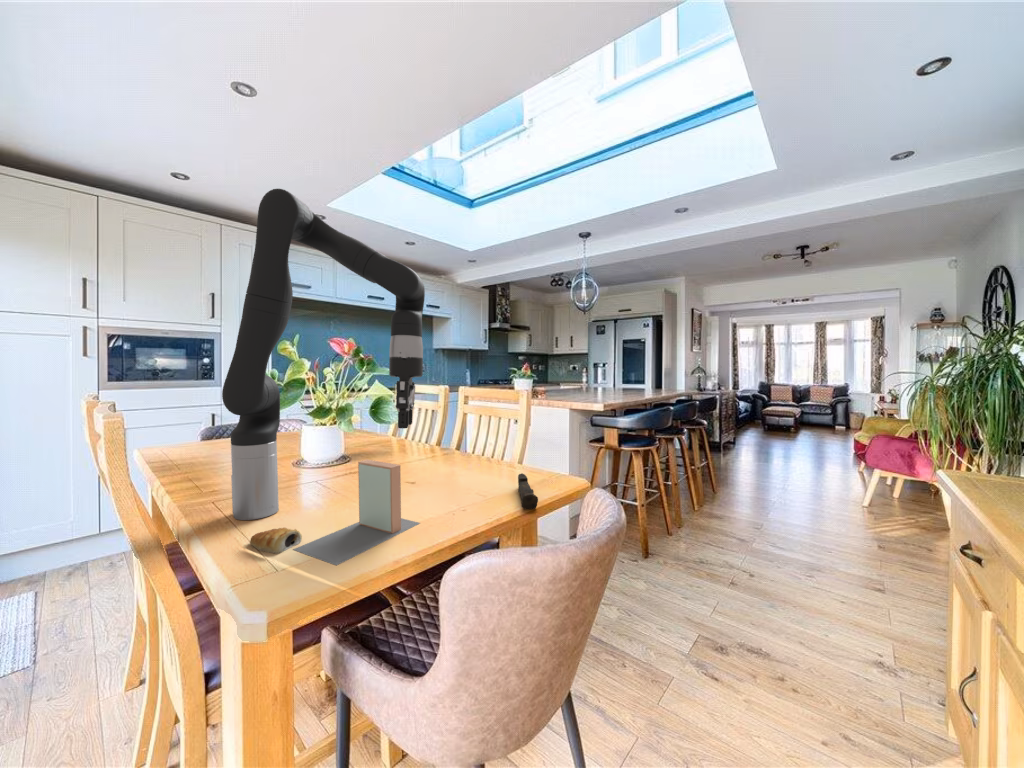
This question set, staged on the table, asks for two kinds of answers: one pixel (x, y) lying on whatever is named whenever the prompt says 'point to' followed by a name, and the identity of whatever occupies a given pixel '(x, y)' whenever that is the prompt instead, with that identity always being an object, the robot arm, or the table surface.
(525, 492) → the hand tool
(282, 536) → the pastry
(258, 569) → the table surface
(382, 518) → the tile
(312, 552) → the mat
